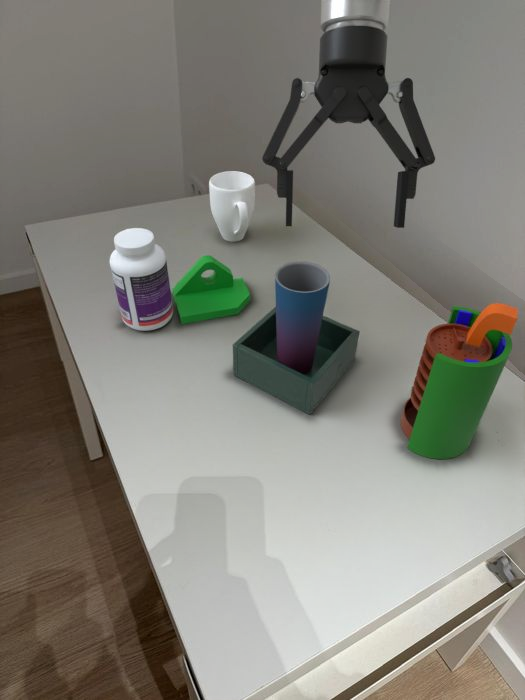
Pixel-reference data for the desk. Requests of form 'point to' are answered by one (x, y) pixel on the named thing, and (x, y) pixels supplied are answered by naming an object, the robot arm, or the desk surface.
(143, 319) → the pill bottle
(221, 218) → the mug
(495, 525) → the desk surface
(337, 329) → the holder
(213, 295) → the bracket
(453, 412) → the coaster caddy
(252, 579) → the desk surface
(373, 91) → the robot arm
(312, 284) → the cup
